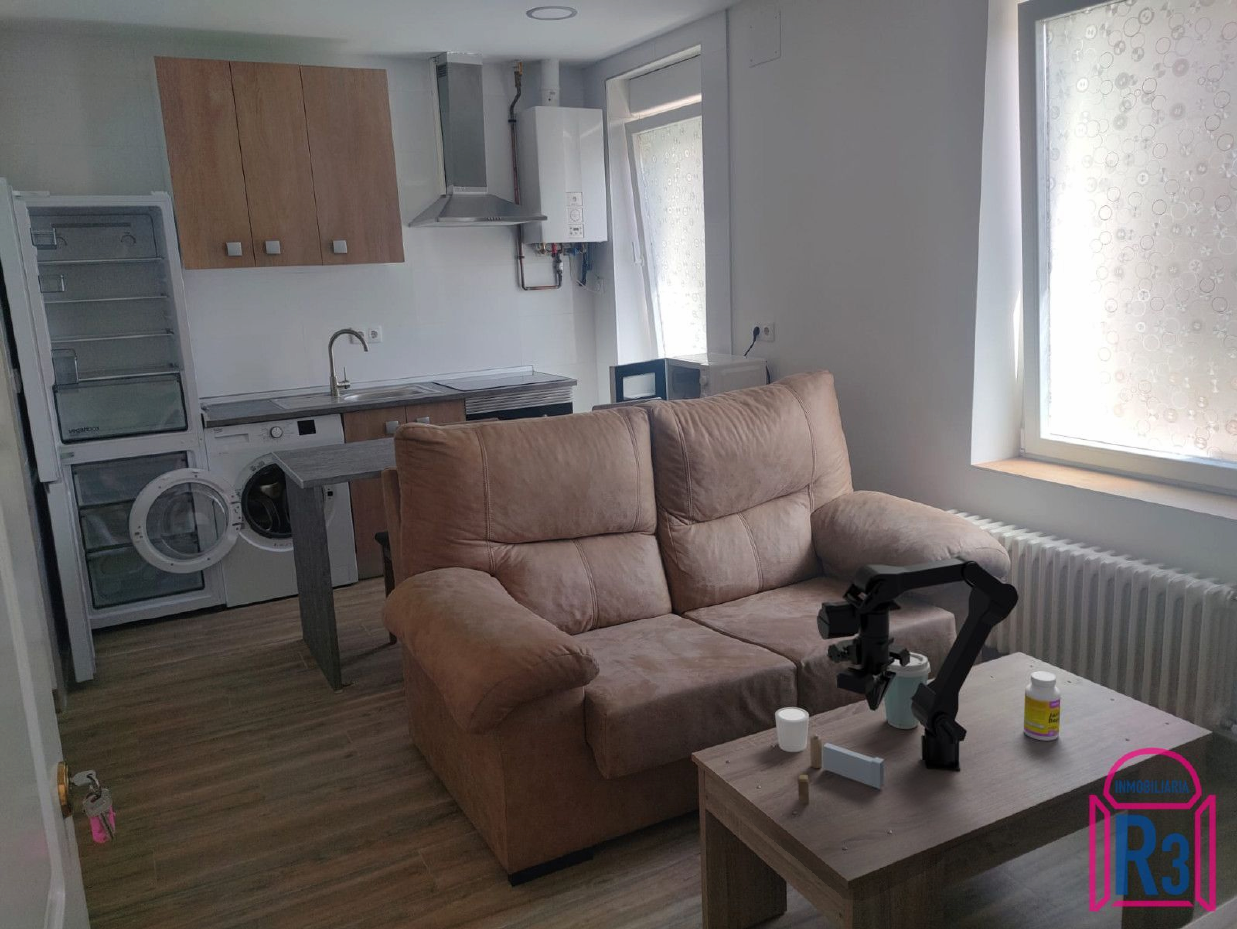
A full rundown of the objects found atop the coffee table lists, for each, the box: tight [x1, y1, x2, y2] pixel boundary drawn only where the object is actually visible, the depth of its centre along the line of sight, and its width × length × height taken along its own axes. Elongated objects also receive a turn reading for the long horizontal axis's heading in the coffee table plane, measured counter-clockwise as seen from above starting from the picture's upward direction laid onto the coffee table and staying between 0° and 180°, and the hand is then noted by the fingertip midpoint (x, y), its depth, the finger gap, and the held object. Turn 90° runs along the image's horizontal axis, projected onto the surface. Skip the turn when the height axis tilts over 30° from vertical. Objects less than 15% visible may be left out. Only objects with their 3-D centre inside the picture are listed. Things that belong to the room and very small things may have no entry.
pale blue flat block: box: [809, 733, 885, 789], centre depth 178 cm, size 15×2×6 cm, turn 47°
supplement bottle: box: [1023, 670, 1062, 742], centre depth 189 cm, size 7×7×13 cm
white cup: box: [774, 706, 810, 753], centre depth 191 cm, size 7×7×7 cm
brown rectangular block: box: [797, 774, 810, 805], centre depth 170 cm, size 2×2×5 cm
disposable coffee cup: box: [883, 651, 931, 730], centre depth 197 cm, size 11×11×15 cm
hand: (873, 709), depth 177 cm, fingers closed
